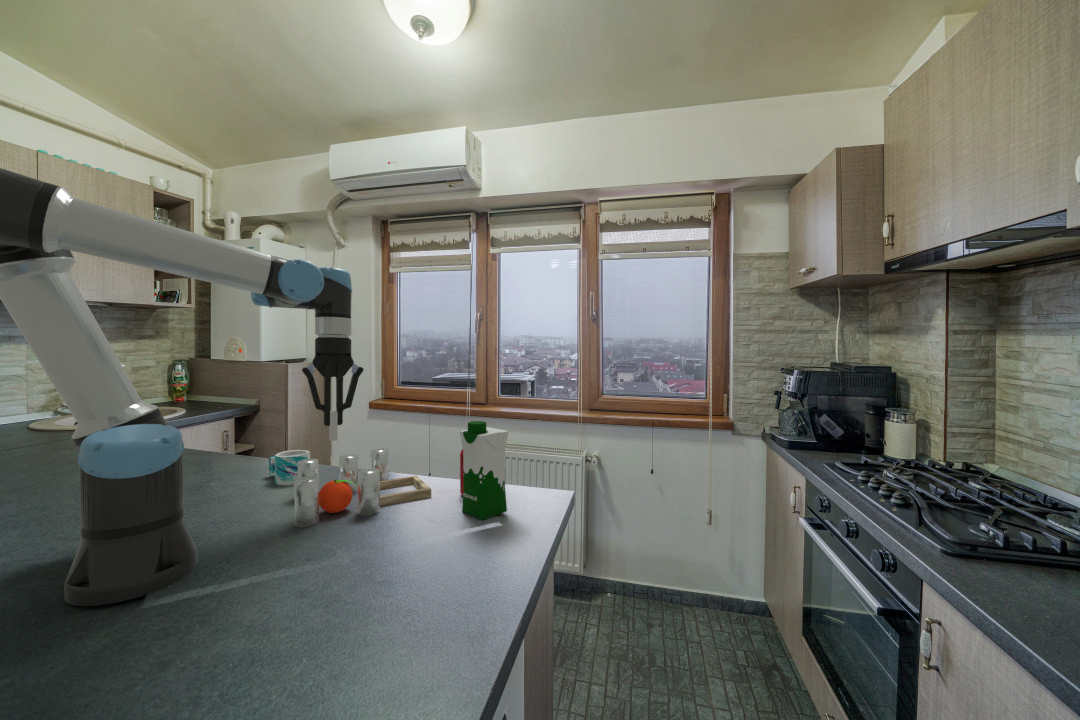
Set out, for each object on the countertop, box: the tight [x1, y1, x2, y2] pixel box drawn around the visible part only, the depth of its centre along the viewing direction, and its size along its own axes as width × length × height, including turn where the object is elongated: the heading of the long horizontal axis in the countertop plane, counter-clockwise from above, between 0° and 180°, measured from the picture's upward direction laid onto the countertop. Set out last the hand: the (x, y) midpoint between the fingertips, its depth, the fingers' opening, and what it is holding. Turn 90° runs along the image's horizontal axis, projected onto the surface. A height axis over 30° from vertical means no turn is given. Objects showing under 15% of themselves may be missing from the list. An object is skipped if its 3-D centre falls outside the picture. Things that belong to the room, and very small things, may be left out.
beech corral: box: [380, 475, 432, 507], centre depth 106 cm, size 13×13×2 cm
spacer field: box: [293, 447, 390, 529], centre depth 101 cm, size 24×22×9 cm
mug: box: [268, 449, 311, 486], centre depth 115 cm, size 8×12×8 cm
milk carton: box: [459, 420, 509, 521], centre depth 94 cm, size 9×9×20 cm
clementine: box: [319, 479, 356, 514], centre depth 94 cm, size 8×7×7 cm
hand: (333, 439), depth 98 cm, fingers closed
